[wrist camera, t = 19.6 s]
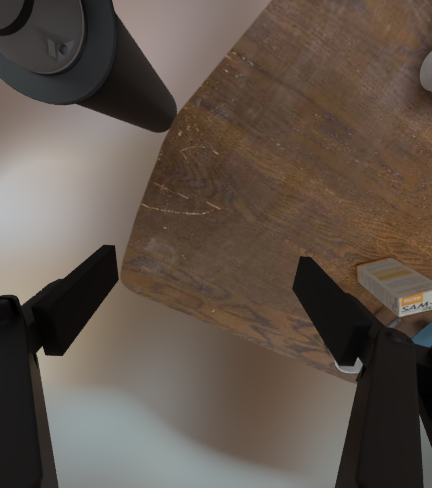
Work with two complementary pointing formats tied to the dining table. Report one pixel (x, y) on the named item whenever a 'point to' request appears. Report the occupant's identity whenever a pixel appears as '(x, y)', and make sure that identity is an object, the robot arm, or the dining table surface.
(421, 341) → the container
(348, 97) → the dining table surface
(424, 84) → the cup
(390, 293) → the supplement box
